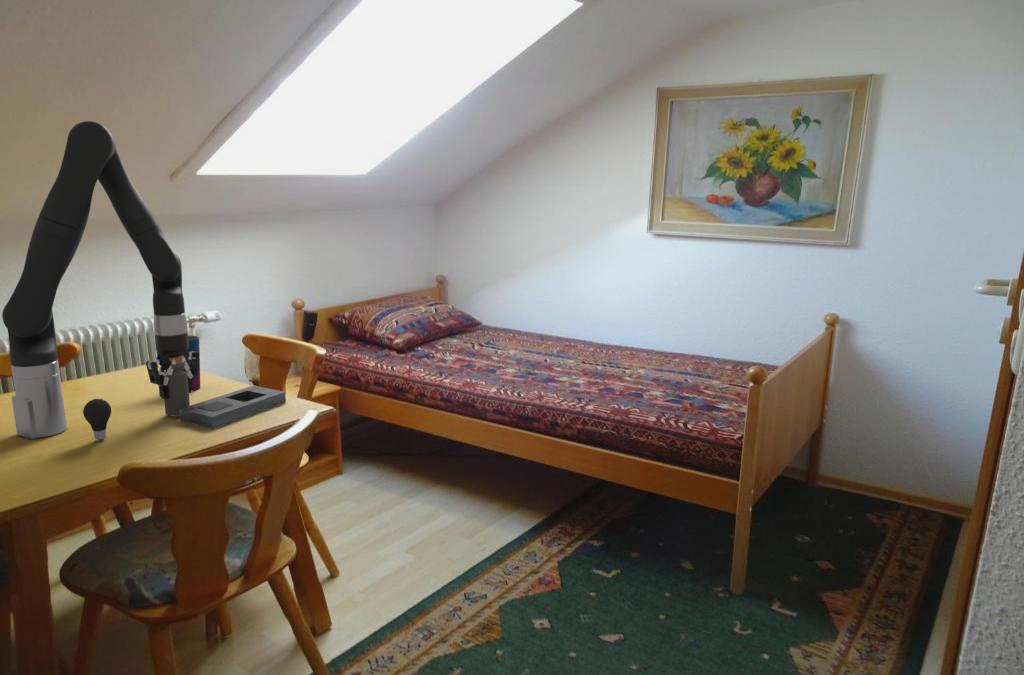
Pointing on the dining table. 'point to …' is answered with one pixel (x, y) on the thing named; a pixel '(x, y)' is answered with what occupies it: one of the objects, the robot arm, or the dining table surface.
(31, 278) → the robot arm
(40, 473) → the dining table surface
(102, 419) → the light bulb
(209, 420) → the panel
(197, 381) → the cup
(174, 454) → the dining table surface
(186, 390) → the bottle
